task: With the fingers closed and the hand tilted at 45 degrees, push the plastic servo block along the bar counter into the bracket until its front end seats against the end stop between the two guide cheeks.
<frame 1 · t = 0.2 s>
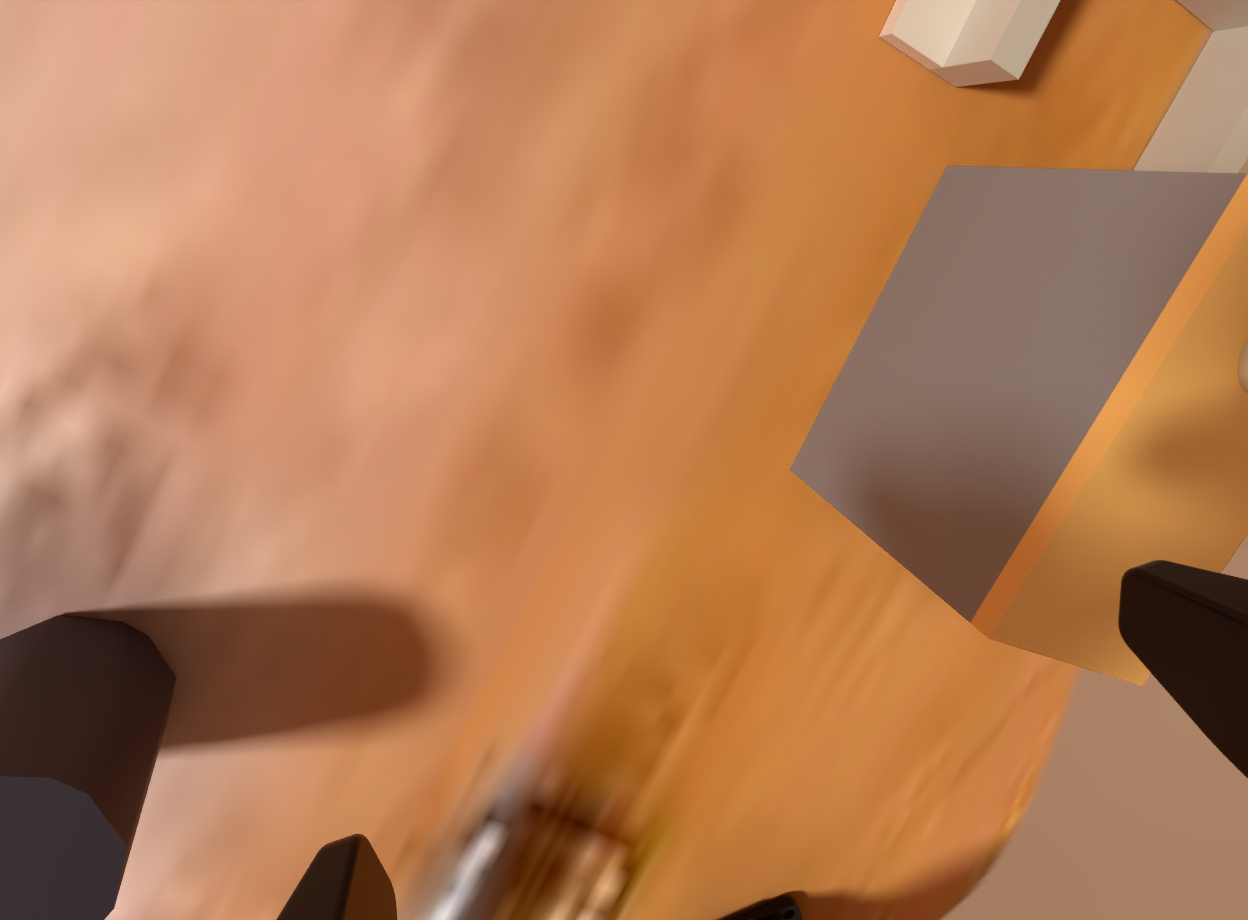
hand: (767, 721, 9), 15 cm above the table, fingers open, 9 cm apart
bracket: (1041, 143, 23), on the table
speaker: (68, 667, 22), on the table
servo: (924, 354, 25), on the table
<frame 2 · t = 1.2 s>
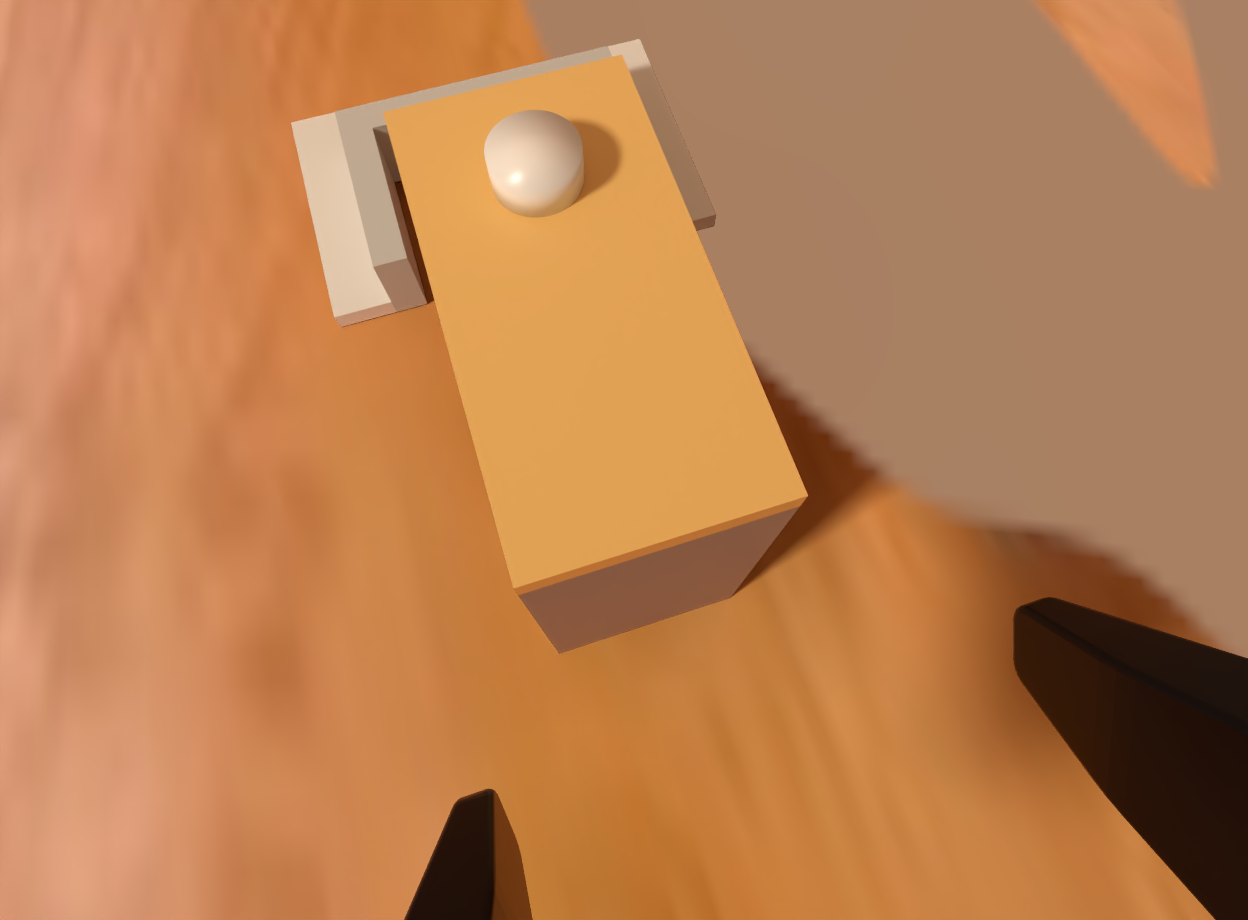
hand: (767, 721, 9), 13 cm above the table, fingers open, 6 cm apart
bracket: (532, 275, 25), on the table
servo: (593, 463, 23), on the table
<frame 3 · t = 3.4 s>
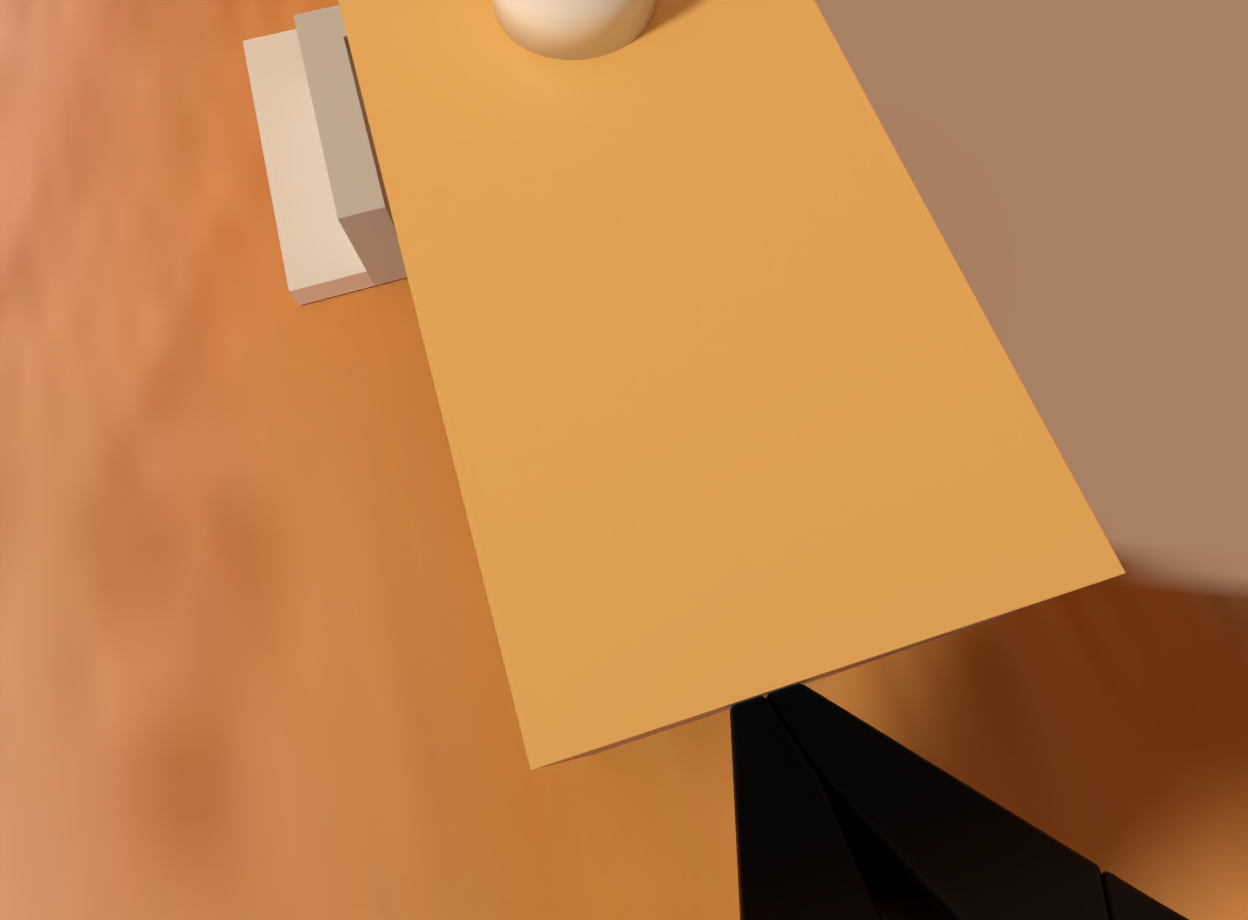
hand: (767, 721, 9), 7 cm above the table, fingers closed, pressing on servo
bracket: (556, 238, 19), on the table
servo: (635, 481, 17), on the table, touching gripper
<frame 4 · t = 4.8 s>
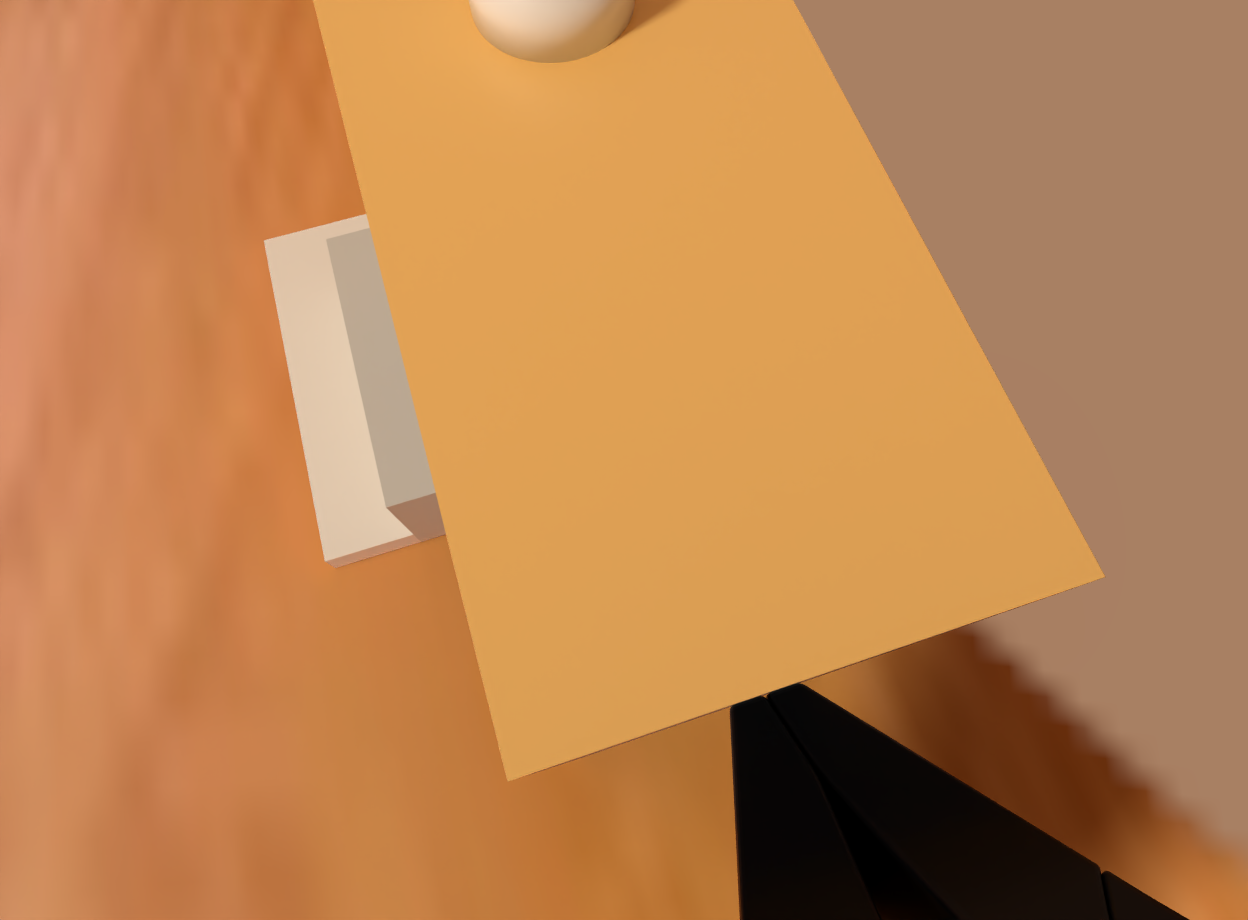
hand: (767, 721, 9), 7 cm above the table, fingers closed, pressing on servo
bracket: (625, 479, 17), on the table
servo: (624, 483, 17), on the table, touching gripper
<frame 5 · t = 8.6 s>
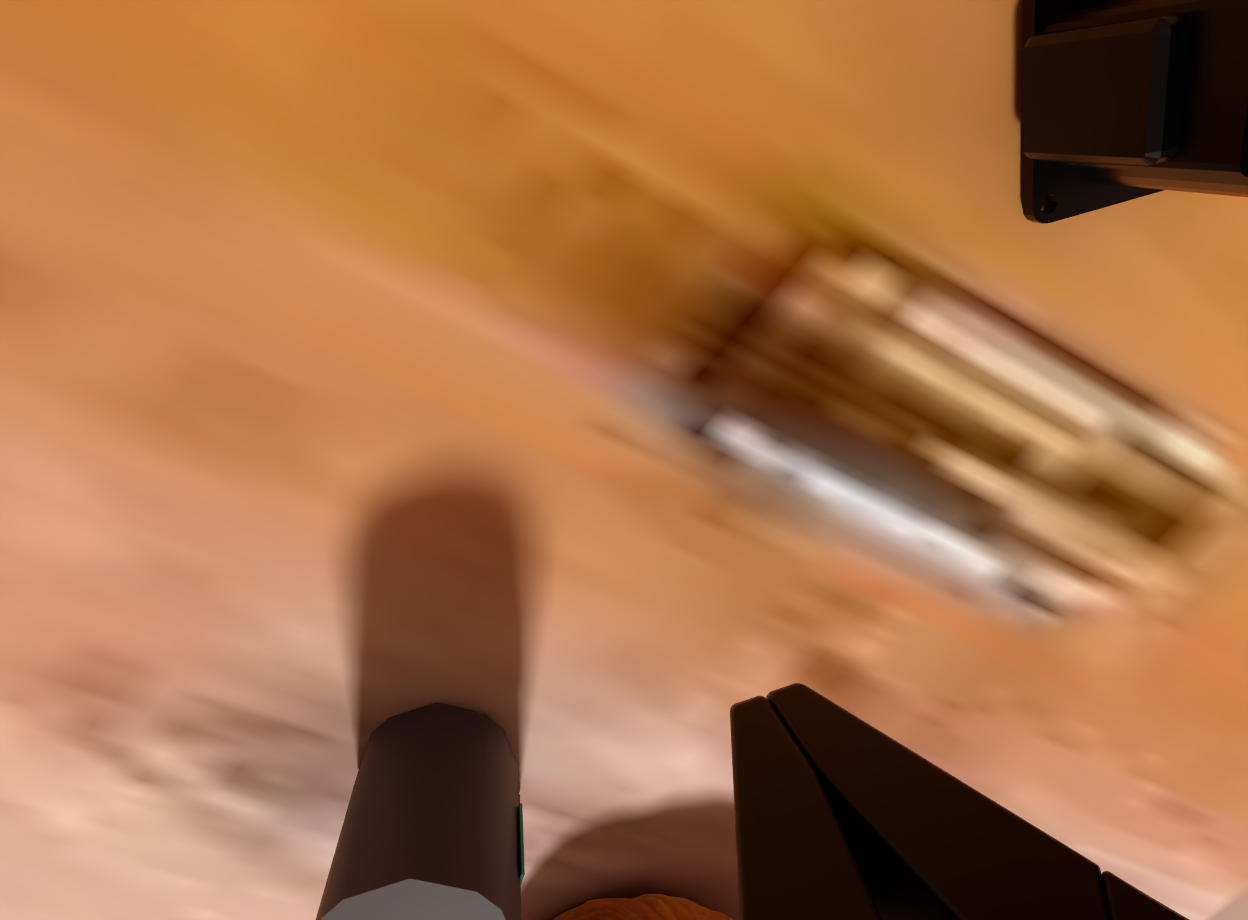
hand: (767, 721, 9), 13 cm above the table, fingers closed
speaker: (420, 766, 24), on the table
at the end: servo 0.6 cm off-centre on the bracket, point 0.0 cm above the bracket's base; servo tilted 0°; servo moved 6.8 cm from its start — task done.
